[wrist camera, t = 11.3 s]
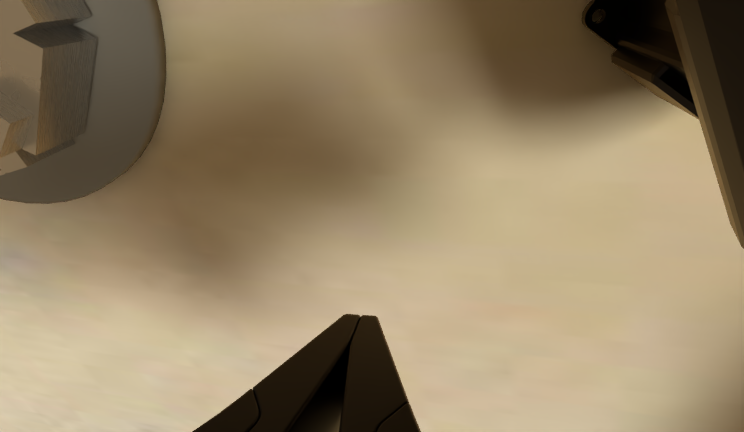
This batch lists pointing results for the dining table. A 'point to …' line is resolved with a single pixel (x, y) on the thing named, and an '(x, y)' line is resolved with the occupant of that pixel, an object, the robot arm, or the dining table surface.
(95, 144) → the grey stone circle model
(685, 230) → the dining table surface
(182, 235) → the dining table surface
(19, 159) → the grey stone ring wall
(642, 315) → the dining table surface
